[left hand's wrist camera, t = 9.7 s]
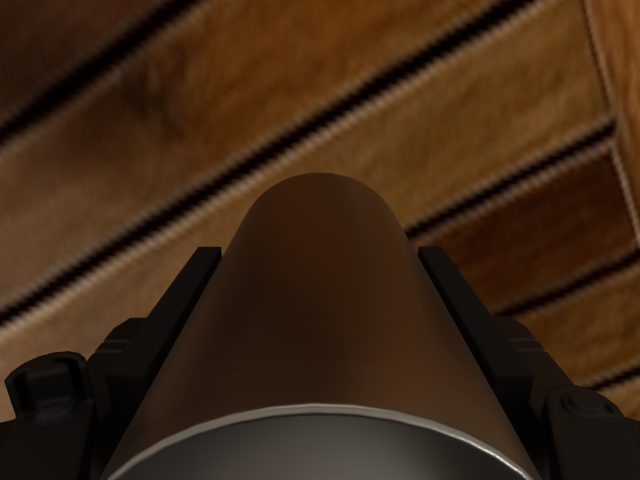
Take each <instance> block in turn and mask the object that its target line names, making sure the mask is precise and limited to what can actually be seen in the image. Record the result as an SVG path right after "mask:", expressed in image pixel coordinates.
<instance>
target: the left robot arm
mask: <svg viewBox="0 0 640 480" xmlns="http://www.w3.org/2000/svg"><path fill="white" fill-rule="evenodd" d="M418 258H419V260H420V261H421V263H422V265H423V267H424V269H425V270H426V272H427V274H428V276H429V278H430V279H431V281H432V283H433V285H434V287H435V288H436V290H437V292H438V294H439V295H440V297H441V299H442V301H443V303H444V304H445V306H446V308H447V310H448V312H449V313H450V315H451V317H452V319H453V321H454V322H455V324H456V326H457V328H458V330H459V331H460V333H461V335H462V337H463V339H464V340H465V342H466V344H467V346H468V348H469V349H470V351H471V353H472V355H473V357H474V358H475V360H476V362H477V364H478V365H479V367H480V369H481V371H482V373H483V374H484V376H485V378H486V380H487V382H488V383H489V385H490V387H491V389H492V391H493V392H494V394H495V396H496V398H497V400H498V401H499V403H500V405H501V407H502V409H503V410H504V412H505V414H506V416H507V418H508V419H509V421H510V423H511V425H512V427H513V428H514V430H515V432H516V434H517V435H518V437H519V439H520V441H521V443H522V444H523V446H524V448H525V450H526V452H527V453H528V455H529V457H530V459H531V461H532V462H533V464H534V466H535V468H536V470H537V471H538V473H539V475H540V477H541V479H542V480H640V421H638V420H633V419H629V418H626V417H624V415H623V414H622V413H621V411H620V410H619V408H618V407H617V406H616V405H615V404H614V403H612V402H611V401H610V400H609V399H607V398H606V397H604V396H602V395H600V394H599V393H597V392H595V391H593V390H590V389H587V388H584V387H580V386H577V385H574V384H573V383H572V381H571V380H570V379H569V378H568V377H567V375H566V374H565V373H564V372H563V371H562V369H561V368H560V367H559V366H558V365H557V363H556V362H555V361H554V360H553V359H552V357H551V356H550V355H549V354H548V353H547V352H545V349H544V348H543V347H542V346H541V344H540V343H539V342H536V338H535V337H534V336H533V335H532V334H531V332H530V331H529V330H528V329H527V328H526V327H525V326H524V325H522V324H521V323H519V322H517V321H516V320H514V319H513V318H511V317H510V316H491V314H490V313H489V312H488V310H487V309H486V307H485V306H484V305H483V303H482V302H481V301H480V299H479V298H478V296H477V295H476V294H475V292H474V291H473V290H472V288H471V287H470V286H469V284H468V283H467V281H466V280H465V279H464V277H463V276H462V275H461V273H460V272H459V270H458V269H457V268H456V266H455V265H454V264H453V262H452V261H451V260H450V258H449V257H448V255H447V254H446V253H445V251H444V250H443V249H442V247H419V250H418ZM221 259H222V253H221V247H198V248H197V250H196V251H195V252H194V254H193V255H192V256H191V258H190V259H189V260H188V262H187V263H186V265H185V266H184V267H183V269H182V270H181V271H180V273H179V274H178V276H177V277H176V278H175V280H174V281H173V282H172V284H171V285H170V287H169V288H168V289H167V291H166V292H165V293H164V295H163V296H162V297H161V299H160V300H159V302H158V303H157V304H156V306H155V307H154V308H153V310H152V311H151V313H150V314H149V315H148V317H147V318H129V319H128V320H126V321H125V322H123V323H121V324H120V325H118V326H117V327H115V328H114V329H113V330H112V331H111V333H110V334H109V335H108V336H107V337H106V339H105V340H104V343H101V345H100V346H99V347H98V348H97V349H96V351H95V353H93V354H92V355H91V357H90V358H89V359H88V360H87V361H86V359H85V357H83V356H82V355H81V354H79V353H75V352H70V351H65V352H54V353H50V354H46V355H43V356H39V357H37V358H34V359H32V360H30V361H28V362H26V363H24V364H22V365H21V366H19V367H18V368H16V369H15V370H14V371H12V372H11V373H10V374H9V376H8V377H7V378H6V379H5V380H4V382H5V385H6V388H7V391H8V394H9V397H10V400H11V403H12V406H13V409H14V412H15V415H16V418H15V419H13V420H10V421H6V422H1V423H0V480H99V479H100V477H101V475H102V473H103V472H104V470H105V468H106V466H107V464H108V462H109V461H110V459H111V457H112V455H113V453H114V452H115V450H116V448H117V446H118V444H119V443H120V441H121V439H122V437H123V435H124V434H125V432H126V430H127V428H128V426H129V425H130V423H131V421H132V419H133V417H134V416H135V414H136V412H137V410H138V408H139V407H140V405H141V403H142V401H143V399H144V398H145V396H146V394H147V392H148V390H149V389H150V387H151V385H152V383H153V381H154V380H155V378H156V376H157V374H158V372H159V370H160V369H161V367H162V365H163V363H164V361H165V360H166V358H167V356H168V354H169V352H170V351H171V349H172V347H173V345H174V343H175V342H176V340H177V338H178V336H179V334H180V333H181V331H182V329H183V327H184V325H185V324H186V322H187V320H188V318H189V316H190V315H191V313H192V311H193V309H194V307H195V306H196V304H197V302H198V300H199V298H200V297H201V295H202V293H203V291H204V289H205V288H206V286H207V284H208V282H209V280H210V278H211V277H212V275H213V273H214V271H215V269H216V268H217V266H218V264H219V262H220V260H221Z"/></svg>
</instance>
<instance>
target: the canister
mask: <svg viewBox="0 0 640 480" xmlns="http://www.w3.org/2000/svg"><path fill="white" fill-rule="evenodd" d="M99 480H542V479H541V477H540V475H539V473H538V471H537V470H536V468H535V466H534V464H533V462H532V461H531V459H530V457H529V455H528V453H527V452H526V450H525V448H524V446H523V444H522V443H521V441H520V439H519V437H518V435H517V434H516V432H515V430H514V428H513V427H512V425H511V423H510V421H509V419H508V418H507V416H506V414H505V412H504V410H503V409H502V407H501V405H500V403H499V401H498V400H497V398H496V396H495V394H494V392H493V391H492V389H491V387H490V385H489V383H488V382H487V380H486V378H485V376H484V374H483V373H482V371H481V369H480V367H479V365H478V364H477V362H476V360H475V358H474V357H473V355H472V353H471V351H470V349H469V348H468V346H467V344H466V342H465V340H464V339H463V337H462V335H461V333H460V331H459V330H458V328H457V326H456V324H455V322H454V321H453V319H452V317H451V315H450V313H449V312H448V310H447V308H446V306H445V304H444V303H443V301H442V299H441V297H440V295H439V294H438V292H437V290H436V288H435V287H434V285H433V283H432V281H431V279H430V278H429V276H428V274H427V272H426V270H425V269H424V267H423V265H422V263H421V261H420V260H419V258H418V256H417V254H416V252H415V251H414V249H413V247H412V245H411V243H410V242H409V240H408V238H407V236H406V234H405V233H404V231H403V229H402V227H401V225H400V224H399V222H398V220H397V218H396V216H395V215H394V213H393V212H392V210H391V209H390V207H389V206H388V204H387V203H386V202H385V201H384V200H383V199H382V198H381V196H379V195H378V194H377V193H376V192H375V191H373V190H372V189H371V188H369V187H368V186H366V185H364V184H363V183H361V182H359V181H357V180H354V179H352V178H349V177H346V176H343V175H338V174H332V173H308V174H302V175H298V176H294V177H291V178H289V179H286V180H283V181H282V182H280V183H278V184H276V185H274V186H273V187H271V188H270V189H268V190H267V191H265V192H264V193H263V194H262V195H261V196H260V197H259V198H258V199H257V200H256V201H255V202H254V204H253V205H252V206H251V207H250V209H249V210H248V212H247V214H246V215H245V217H244V219H243V221H242V223H241V224H240V226H239V228H238V230H237V232H236V233H235V235H234V237H233V239H232V241H231V242H230V244H229V246H228V248H227V250H226V251H225V253H224V255H223V257H222V259H221V260H220V262H219V264H218V266H217V268H216V269H215V271H214V273H213V275H212V277H211V278H210V280H209V282H208V284H207V286H206V288H205V289H204V291H203V293H202V295H201V297H200V298H199V300H198V302H197V304H196V306H195V307H194V309H193V311H192V313H191V315H190V316H189V318H188V320H187V322H186V324H185V325H184V327H183V329H182V331H181V333H180V334H179V336H178V338H177V340H176V342H175V343H174V345H173V347H172V349H171V351H170V352H169V354H168V356H167V358H166V360H165V361H164V363H163V365H162V367H161V369H160V370H159V372H158V374H157V376H156V378H155V380H154V381H153V383H152V385H151V387H150V389H149V390H148V392H147V394H146V396H145V398H144V399H143V401H142V403H141V405H140V407H139V408H138V410H137V412H136V414H135V416H134V417H133V419H132V421H131V423H130V425H129V426H128V428H127V430H126V432H125V434H124V435H123V437H122V439H121V441H120V443H119V444H118V446H117V448H116V450H115V452H114V453H113V455H112V457H111V459H110V461H109V462H108V464H107V466H106V468H105V470H104V472H103V473H102V475H101V477H100V479H99Z"/></svg>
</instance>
